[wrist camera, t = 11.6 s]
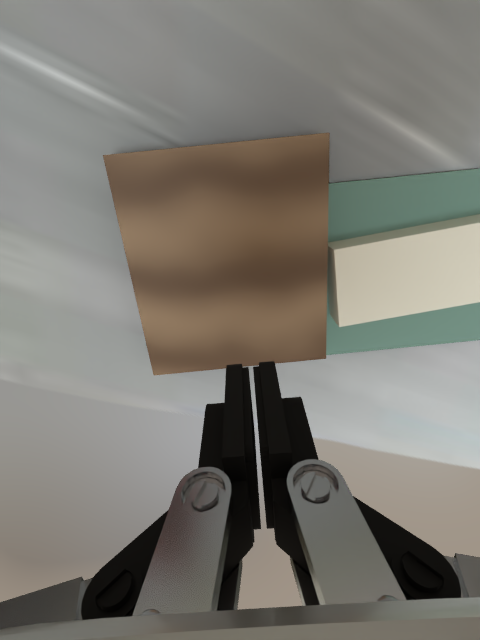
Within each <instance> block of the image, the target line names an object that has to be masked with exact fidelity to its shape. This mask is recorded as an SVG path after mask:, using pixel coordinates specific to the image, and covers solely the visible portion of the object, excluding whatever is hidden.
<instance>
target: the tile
mask: <svg viewBox="0 0 480 640" xmlns="http://www.w3.org/2000/svg"><path fill="white" fill-rule="evenodd" d="M327 284H328V297H329V310H330V316H331V317H332V318H333V320H334V321H335V322H336V324H337V325H338V326H339V327H343V326H349V325H354V324H360V323H366V322H371V321H377V320H382V319H388V318H394V317H399V316H405V315H410V314H416V313H422V312H427V311H433V310H438V309H444V308H450V307H455V306H461V305H466V304H472V303H478V302H480V214H477V215H472V216H467V217H461V218H456V219H451V220H446V221H440V222H435V223H430V224H424V225H419V226H414V227H408V228H403V229H398V230H392V231H387V232H382V233H377V234H371V235H366V236H361V237H355V238H350V239H345V240H339V241H334V242H329V243H328V266H327Z"/></svg>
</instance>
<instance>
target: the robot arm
mask: <svg viewBox="0 0 480 640" xmlns="http://www.w3.org/2000/svg"><path fill="white" fill-rule="evenodd" d="M253 370H254V382H255V394H256V407H257V419H258V431H259V443H260V455H261V466H262V478H263V490H264V501H265V511H266V523H267V528H274V530H275V540H276V544H277V545H278V546H279V547H280V548H281V549H282V550H283V551H284V552H286V553H287V554H288V555H289V556H290V561H291V566H292V570H293V573H294V577H295V580H296V584H297V588H298V591H299V595H300V598H301V602H302V606H293V607H277V608H259V609H242V610H237V608H238V600H239V591H240V583H241V574H242V558H243V557H244V556H245V555H246V554H247V553H248V551H249V550H250V549H251V548H252V546H253V542H254V529H261V523H260V508H259V493H258V478H257V463H256V449H255V434H254V421H253V411H252V400H251V390H250V379H249V369H248V367H246V368H242V364H232V365H227V366H226V385H225V403H217V404H207V405H206V410H205V418H204V426H203V434H202V442H201V450H200V458H199V466H198V469H195V470H193V471H191V472H190V473H188V474H187V475H185V476H184V477H183V479H182V480H181V481H180V483H179V484H178V486H177V488H176V491H175V494H174V496H173V499H172V502H171V505H170V508H169V510H168V511H167V512H166V513H164V514H163V515H162V516H161V517H160V518H159V519H158V520H156V521H155V522H154V523H153V524H152V525H151V526H149V527H148V528H147V529H146V530H145V531H144V532H143V533H141V534H140V535H139V536H138V537H137V538H136V539H135V540H133V541H132V542H131V543H130V544H129V545H128V546H126V547H125V548H124V549H123V550H122V551H121V552H120V553H118V554H117V555H116V556H115V557H114V558H113V559H112V560H110V561H109V562H108V563H107V564H106V565H105V566H104V567H102V568H101V569H100V571H99V572H98V573H97V574H96V575H95V576H94V577H93V578H91V579H88V580H83V578H82V577H79V578H76V579H73V580H70V581H66V582H63V583H60V584H57V585H54V586H51V587H48V588H45V589H41V590H38V591H35V592H32V593H29V594H26V595H22V596H19V597H16V598H13V599H10V600H7V601H3V602H0V640H480V557H474V556H469V555H463V554H457V553H455V556H454V558H453V557H448V556H443V555H442V554H441V553H439V552H438V551H437V550H436V549H434V548H433V547H432V546H430V545H429V544H427V543H426V542H424V541H422V540H421V539H419V538H417V537H416V536H414V535H413V534H411V533H410V532H408V531H407V530H405V529H404V528H402V527H401V526H399V525H397V524H396V523H394V522H393V521H391V520H389V519H388V518H386V517H385V516H383V515H382V514H380V513H379V512H377V511H376V510H374V509H372V508H371V507H369V506H368V505H366V504H365V503H363V502H361V501H360V500H358V499H357V498H355V497H354V496H352V494H351V492H350V490H349V488H348V486H347V484H346V482H345V480H344V478H343V476H342V475H341V474H340V472H339V471H338V470H337V469H336V468H335V467H334V466H332V465H331V464H329V463H327V462H324V461H322V460H318V456H317V453H316V449H315V445H314V442H313V438H312V434H311V431H310V427H309V424H308V420H307V416H306V413H305V409H304V405H303V402H302V399H301V397H294V398H281V393H280V388H279V383H278V377H277V372H276V367H275V362H274V361H268V362H259V366H258V367H253Z"/></svg>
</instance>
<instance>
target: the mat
mask: <svg viewBox="0 0 480 640" xmlns="http://www.w3.org/2000/svg"><path fill="white" fill-rule="evenodd" d="M477 214H480V169H470V170H460V171H450V172H440V173H430V174H420V175H410V176H400V177H390V178H380V179H369V180H359V181H349V182H339V183H329V199H328V243H329V242H334V241H339V240H345V239H350V238H355V237H361V236H366V235H371V234H377V233H382V232H387V231H392V230H398V229H403V228H408V227H414V226H419V225H424V224H430V223H435V222H440V221H446V220H451V219H456V218H461V217H467V216H472V215H477ZM474 340H480V302H478V303H472V304H466V305H461V306H455V307H450V308H444V309H438V310H433V311H427V312H422V313H416V314H410V315H405V316H399V317H394V318H388V319H382V320H377V321H371V322H366V323H360V324H354V325H349V326H343V327H339V326H338V325H337V324H336V322H335V321H334V320H333V318H332V317H331V316H330V310H329V297H328V284H327V333H326V355H332V354H342V353H352V352H362V351H372V350H383V349H393V348H403V347H413V346H423V345H434V344H444V343H454V342H464V341H474Z"/></svg>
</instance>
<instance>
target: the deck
mask: <svg viewBox="0 0 480 640" xmlns="http://www.w3.org/2000/svg"><path fill="white" fill-rule="evenodd" d="M103 158H104V162H105V166H106V171H107V175H108V179H109V184H110V188H111V192H112V197H113V201H114V205H115V210H116V214H117V218H118V223H119V227H120V231H121V236H122V240H123V244H124V249H125V253H126V257H127V262H128V266H129V270H130V275H131V279H132V283H133V288H134V292H135V296H136V301H137V305H138V309H139V314H140V318H141V322H142V327H143V331H144V335H145V340H146V344H147V348H148V353H149V357H150V361H151V366H152V370H153V374H154V375H162V374H172V373H183V372H193V371H203V370H213V369H223V368H226V366H227V365H232V364H242V367H244V366H254V365H259V362H268V361H274V362H275V363H285V362H295V361H305V360H315V359H326V333H327V266H328V199H329V133H321V134H311V135H301V136H291V137H281V138H271V139H261V140H251V141H241V142H231V143H221V144H211V145H201V146H191V147H181V148H171V149H161V150H151V151H141V152H131V153H121V154H111V155H103Z"/></svg>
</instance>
